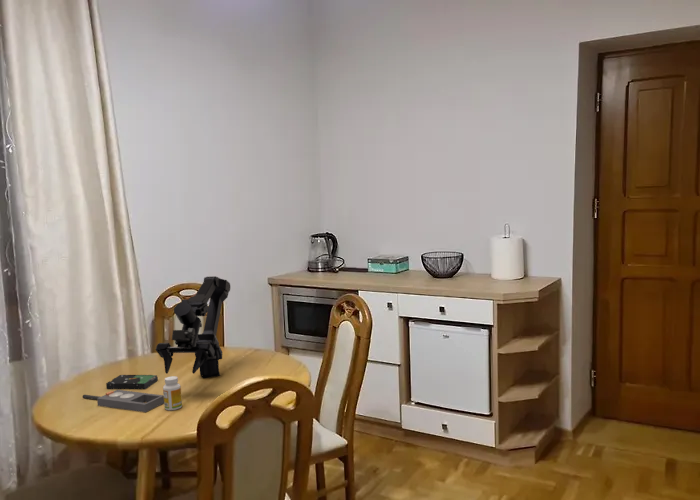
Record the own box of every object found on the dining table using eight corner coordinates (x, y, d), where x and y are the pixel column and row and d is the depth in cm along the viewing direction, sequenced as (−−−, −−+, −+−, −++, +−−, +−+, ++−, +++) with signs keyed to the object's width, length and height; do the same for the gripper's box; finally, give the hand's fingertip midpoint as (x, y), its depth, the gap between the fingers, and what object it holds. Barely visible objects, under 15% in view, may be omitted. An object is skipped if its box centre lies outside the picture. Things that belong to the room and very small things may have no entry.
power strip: (164, 402, 207) (164, 393, 207) (145, 412, 199) (144, 402, 198) (93, 393, 220) (92, 384, 219) (72, 402, 212) (71, 393, 211)
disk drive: (106, 391, 224) (145, 390, 222) (105, 383, 224) (145, 382, 222) (120, 381, 234) (158, 381, 232) (119, 374, 234) (157, 373, 232)
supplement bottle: (184, 404, 205) (182, 375, 204) (179, 410, 199) (176, 380, 198) (167, 405, 205) (165, 375, 204) (162, 411, 199) (159, 380, 198)
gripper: (155, 319, 212) (143, 361, 203) (209, 318, 210) (199, 361, 200) (167, 336, 221) (156, 377, 211) (218, 336, 218) (209, 377, 209)
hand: (179, 373), depth 208 cm, fingers open, 9 cm apart
